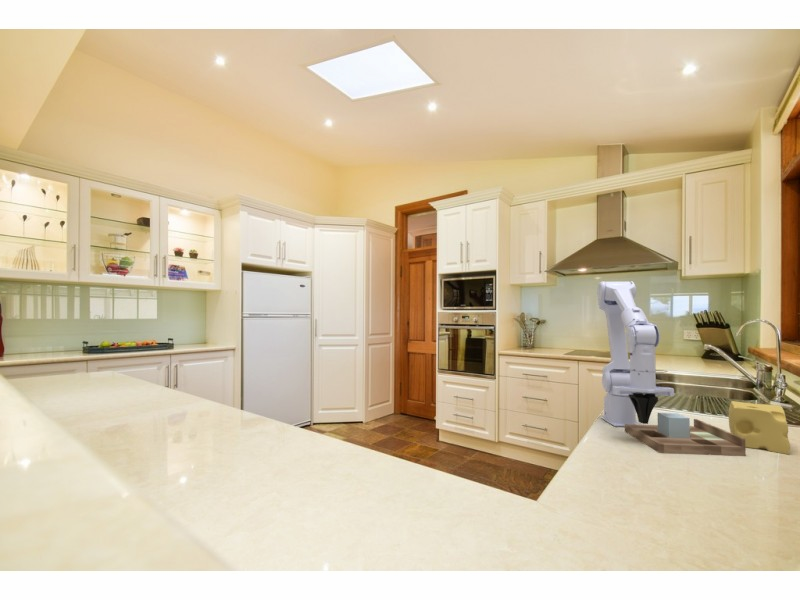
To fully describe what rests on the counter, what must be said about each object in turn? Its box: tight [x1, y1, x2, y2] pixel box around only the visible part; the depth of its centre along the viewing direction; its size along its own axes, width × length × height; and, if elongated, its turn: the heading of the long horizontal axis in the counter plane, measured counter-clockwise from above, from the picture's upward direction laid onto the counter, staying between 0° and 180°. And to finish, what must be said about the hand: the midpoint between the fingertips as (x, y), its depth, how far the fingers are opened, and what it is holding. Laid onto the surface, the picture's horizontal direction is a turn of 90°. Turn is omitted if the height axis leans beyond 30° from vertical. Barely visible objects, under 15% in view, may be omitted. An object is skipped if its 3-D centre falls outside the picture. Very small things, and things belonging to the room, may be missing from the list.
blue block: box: [657, 412, 691, 438], centre depth 102 cm, size 5×5×5 cm
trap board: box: [624, 418, 747, 457], centre depth 102 cm, size 17×19×4 cm
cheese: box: [728, 400, 791, 455], centre depth 101 cm, size 10×11×10 cm
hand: (643, 422), depth 102 cm, fingers closed
